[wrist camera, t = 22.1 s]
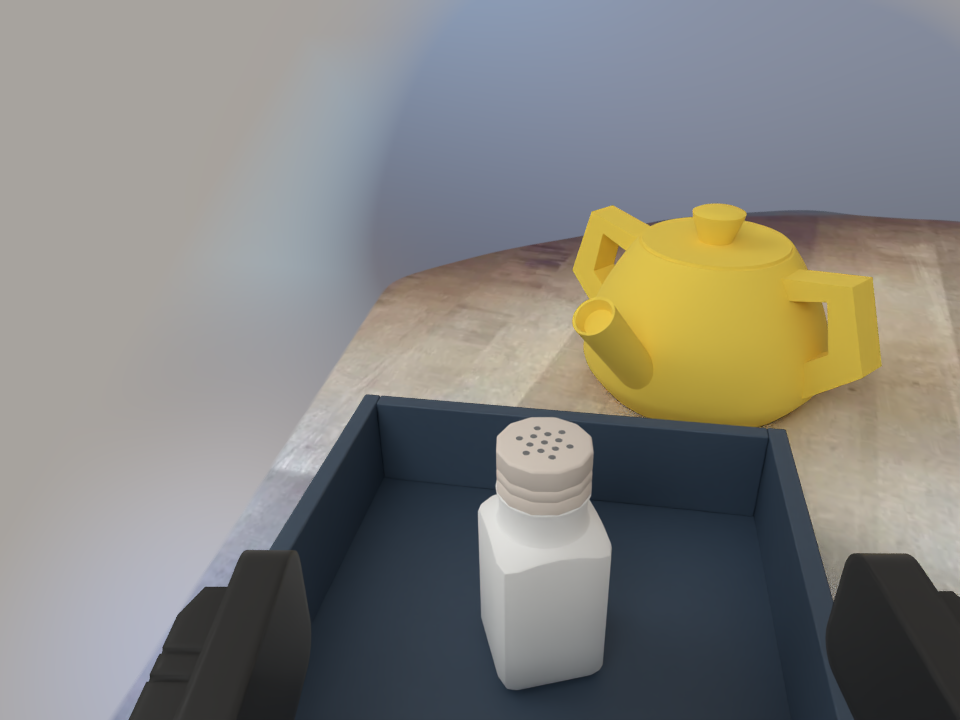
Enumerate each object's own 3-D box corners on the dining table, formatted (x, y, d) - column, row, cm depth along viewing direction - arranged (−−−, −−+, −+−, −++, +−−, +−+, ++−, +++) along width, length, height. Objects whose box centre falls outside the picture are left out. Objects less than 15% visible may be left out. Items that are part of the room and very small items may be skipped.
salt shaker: (478, 616, 31) (471, 418, 26) (573, 598, 31) (583, 402, 27) (501, 701, 27) (498, 489, 23) (608, 679, 28) (626, 469, 23)
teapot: (458, 384, 48) (451, 215, 42) (638, 299, 58) (651, 155, 53) (744, 545, 35) (786, 329, 29) (910, 397, 45) (962, 219, 40)
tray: (173, 873, 23) (131, 768, 20) (374, 476, 40) (365, 393, 37) (870, 1020, 19) (921, 916, 17) (767, 518, 36) (785, 429, 34)
